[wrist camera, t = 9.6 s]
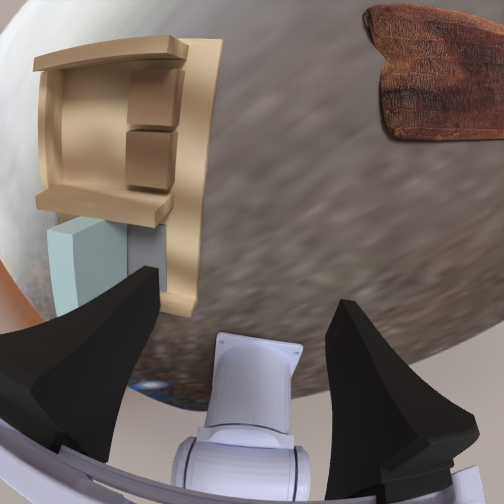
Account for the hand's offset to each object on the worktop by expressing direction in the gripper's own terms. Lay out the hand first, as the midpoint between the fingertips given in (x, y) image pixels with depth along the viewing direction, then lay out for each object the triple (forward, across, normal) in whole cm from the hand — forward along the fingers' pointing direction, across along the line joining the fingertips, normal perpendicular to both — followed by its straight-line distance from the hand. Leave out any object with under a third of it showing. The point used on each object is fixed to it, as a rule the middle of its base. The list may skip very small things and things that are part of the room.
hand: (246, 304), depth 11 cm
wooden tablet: (+11, -18, -16) cm, 26 cm away
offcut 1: (+9, +8, -7) cm, 14 cm away
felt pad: (+10, +10, +5) cm, 15 cm away
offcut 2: (+9, +8, -3) cm, 12 cm away
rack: (+10, +10, -1) cm, 14 cm away
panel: (+8, +10, +5) cm, 14 cm away
